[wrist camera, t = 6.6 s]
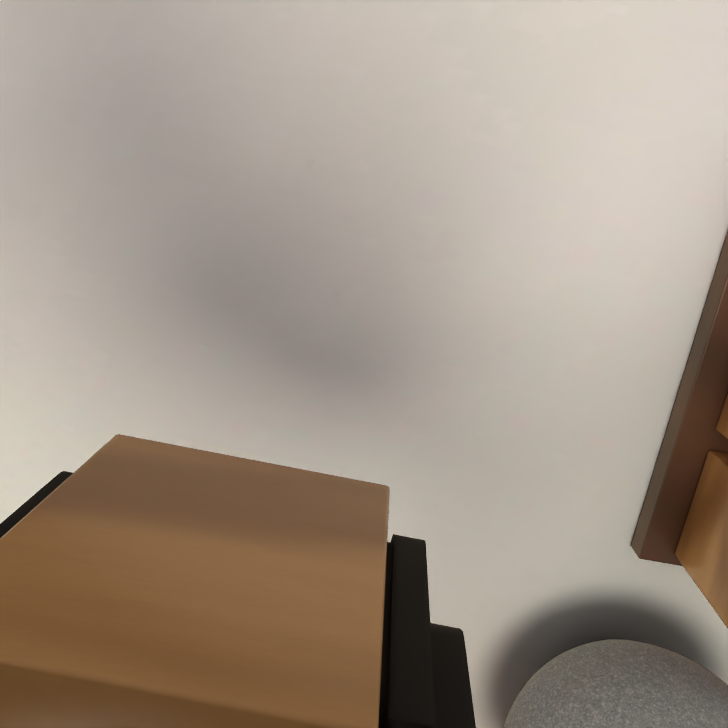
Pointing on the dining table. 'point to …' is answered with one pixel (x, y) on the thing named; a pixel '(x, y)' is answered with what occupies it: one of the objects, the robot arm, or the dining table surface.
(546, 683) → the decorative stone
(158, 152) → the dining table surface
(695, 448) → the word rack
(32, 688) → the letter block S
